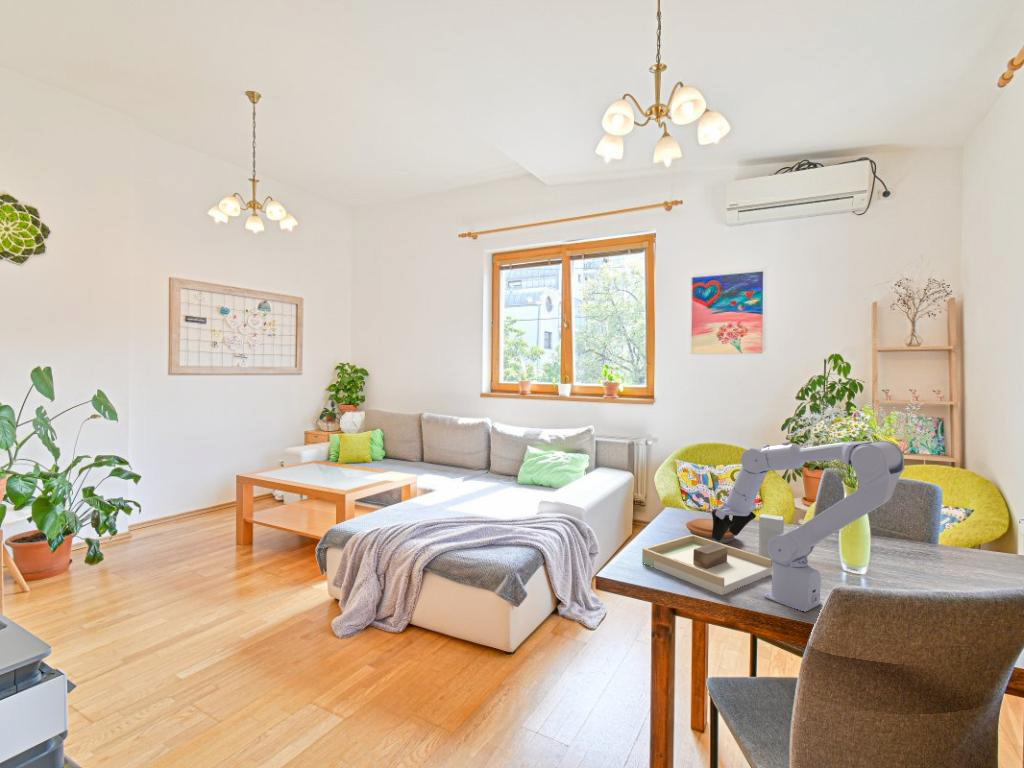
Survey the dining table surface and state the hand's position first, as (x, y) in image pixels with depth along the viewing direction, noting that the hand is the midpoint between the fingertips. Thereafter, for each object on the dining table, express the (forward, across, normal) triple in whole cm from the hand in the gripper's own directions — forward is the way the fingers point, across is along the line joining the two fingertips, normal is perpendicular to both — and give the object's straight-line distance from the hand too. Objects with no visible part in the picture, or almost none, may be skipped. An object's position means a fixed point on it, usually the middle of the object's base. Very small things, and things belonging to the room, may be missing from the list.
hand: (724, 535), depth 133 cm
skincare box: (+10, -22, +5) cm, 24 cm away
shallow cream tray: (+12, 0, -1) cm, 12 cm away
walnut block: (+9, 0, 0) cm, 9 cm away
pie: (+17, -24, -14) cm, 33 cm away
